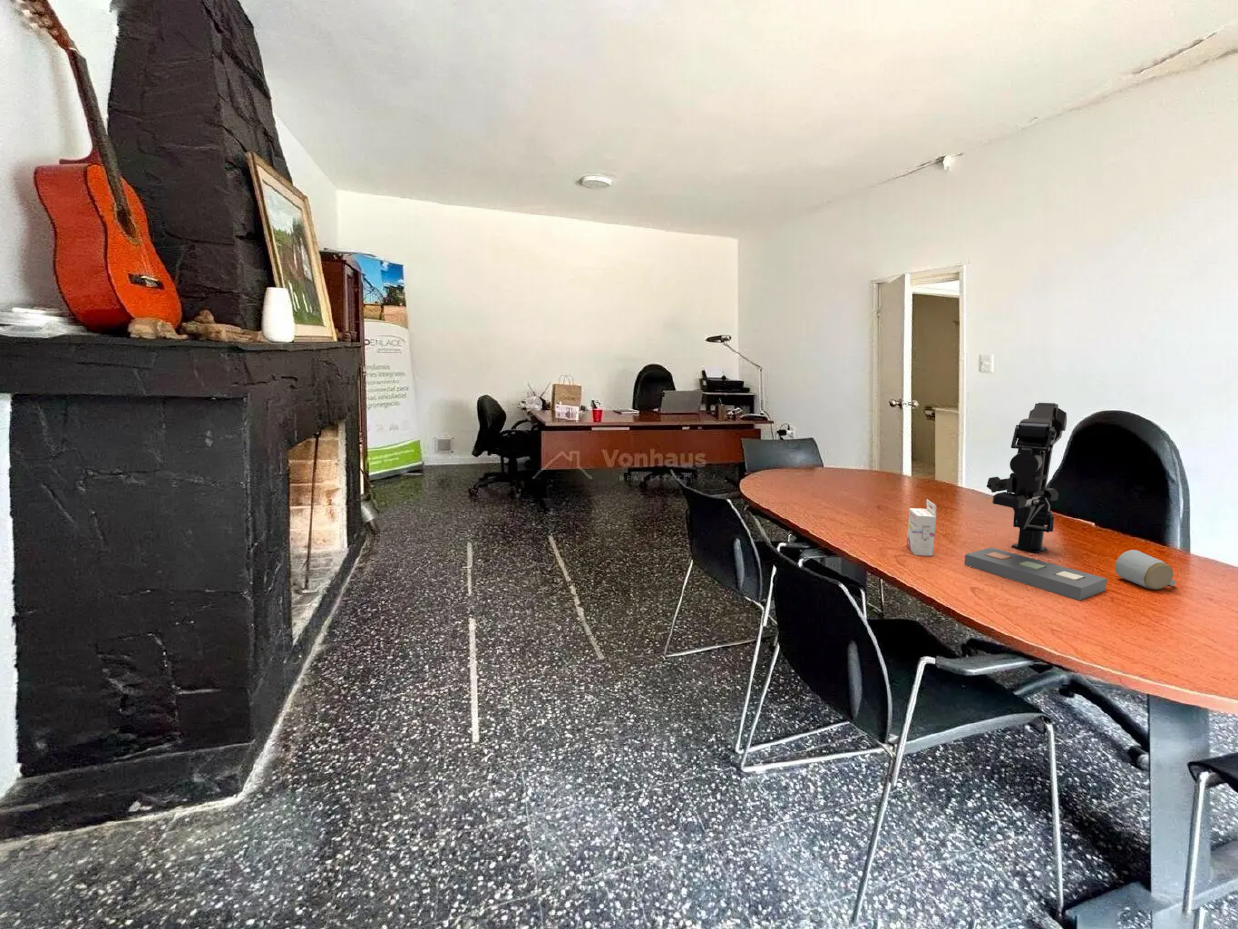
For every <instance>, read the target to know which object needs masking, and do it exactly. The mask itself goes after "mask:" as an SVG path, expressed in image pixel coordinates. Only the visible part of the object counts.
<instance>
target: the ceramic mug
mask: <svg viewBox="0 0 1238 929" xmlns="http://www.w3.org/2000/svg"><path fill="white" fill-rule="evenodd" d="M1114 570H1115V573H1116V574H1117V576H1118V577H1120V578H1121V579H1124V580H1126V581H1129V582H1131V583H1133V584H1136V585H1139V586H1141V587H1144V588H1147V589H1150V590H1160V589H1163V588H1166V587H1167V586H1169V585H1170V587H1174V586H1175V584H1176V582H1177V581H1176V580H1174V579H1173V577H1174V572H1173V568H1172V567H1171V566H1170V565H1169V564H1167V563H1166V562H1165V561H1163V560H1160V559H1158V558H1155V557H1154V556H1151V555H1149V554H1147V553H1144V552H1142V551H1140V550H1137V549H1130V550H1127V551H1124V552H1123V553H1121V555H1119V556H1118V558H1117V559H1116V561H1115V564H1114Z"/></svg>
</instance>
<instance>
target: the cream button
mask: <svg viewBox="0 0 1238 929" xmlns="http://www.w3.org/2000/svg"><path fill="white" fill-rule="evenodd" d="M1055 575H1056V576H1059V577H1063V578H1067V579H1070V580H1074V581H1078V580H1080V579H1083V577H1084V576H1080V575H1077V574H1073V573H1069V572H1066V571H1063V572H1060V573H1057V574H1055Z"/></svg>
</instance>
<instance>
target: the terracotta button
mask: <svg viewBox="0 0 1238 929" xmlns="http://www.w3.org/2000/svg"><path fill="white" fill-rule="evenodd" d="M986 556H989V557H993V558H996V559H1000V560H1005V559H1009V558H1011V556H1007V555H1004V554H1000V553H997V552H993V553H989V554H986Z"/></svg>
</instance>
